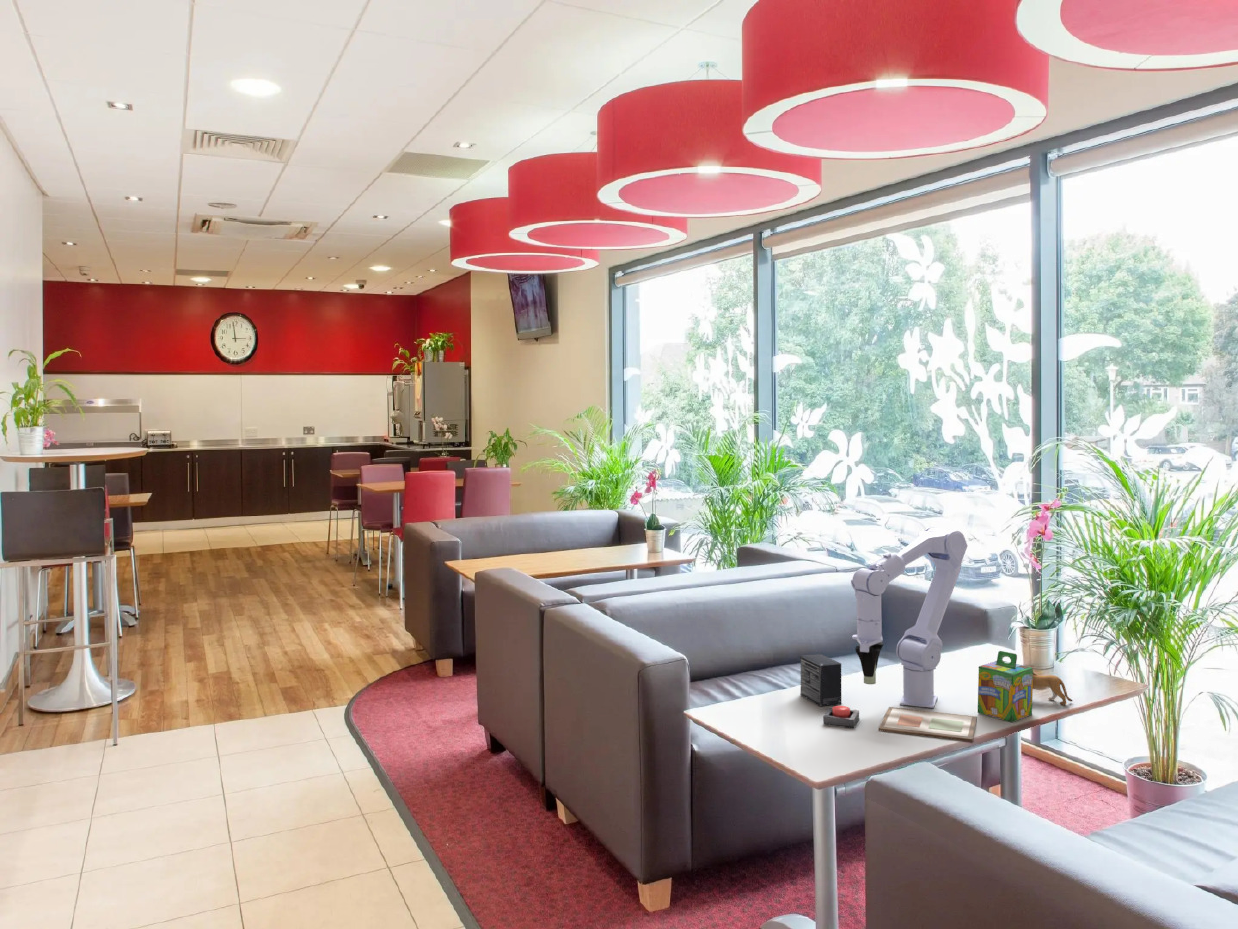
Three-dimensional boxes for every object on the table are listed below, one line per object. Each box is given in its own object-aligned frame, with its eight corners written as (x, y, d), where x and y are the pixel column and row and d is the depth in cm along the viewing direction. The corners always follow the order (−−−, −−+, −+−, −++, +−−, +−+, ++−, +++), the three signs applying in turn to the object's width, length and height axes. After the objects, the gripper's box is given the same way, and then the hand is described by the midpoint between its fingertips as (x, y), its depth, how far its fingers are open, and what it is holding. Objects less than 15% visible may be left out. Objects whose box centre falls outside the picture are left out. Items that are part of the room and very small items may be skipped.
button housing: (829, 715, 219) (829, 707, 219) (859, 719, 216) (859, 710, 216) (823, 724, 212) (823, 716, 212) (853, 728, 209) (853, 720, 209)
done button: (834, 712, 217) (834, 705, 217) (851, 714, 215) (851, 706, 215) (831, 717, 213) (830, 710, 213) (848, 719, 211) (848, 712, 211)
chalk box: (976, 713, 218) (976, 652, 217) (997, 705, 223) (997, 646, 222) (1013, 723, 210) (1013, 660, 209) (1034, 715, 216) (1034, 653, 215)
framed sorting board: (889, 709, 222) (888, 706, 222) (976, 719, 214) (976, 715, 214) (878, 730, 208) (878, 727, 208) (972, 742, 199) (972, 738, 199)
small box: (843, 704, 227) (843, 663, 226) (820, 707, 225) (820, 665, 224) (821, 692, 237) (821, 652, 236) (799, 695, 235) (798, 655, 234)
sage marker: (864, 680, 222) (864, 648, 221) (877, 681, 220) (876, 649, 220) (862, 683, 219) (862, 651, 218) (875, 685, 218) (874, 652, 217)
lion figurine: (1009, 702, 225) (1009, 666, 225) (1006, 696, 230) (1006, 661, 230) (1074, 706, 221) (1074, 670, 220) (1070, 699, 226) (1070, 664, 226)
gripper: (857, 611, 227) (858, 665, 228) (846, 624, 214) (847, 681, 215) (886, 613, 224) (887, 667, 225) (877, 626, 211) (877, 684, 212)
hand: (869, 674), depth 220 cm, fingers closed on sage marker, 3 cm apart
